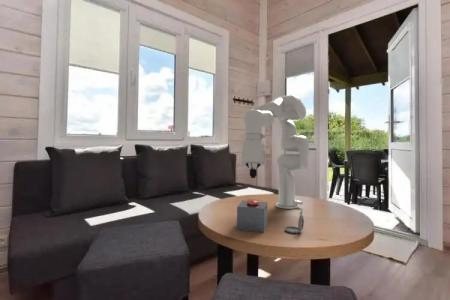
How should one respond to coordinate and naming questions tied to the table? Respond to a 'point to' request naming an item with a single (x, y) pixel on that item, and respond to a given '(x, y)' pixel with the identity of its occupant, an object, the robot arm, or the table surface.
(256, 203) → the lynch pin
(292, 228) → the pocket watch
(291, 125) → the robot arm
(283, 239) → the table surface
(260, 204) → the block
